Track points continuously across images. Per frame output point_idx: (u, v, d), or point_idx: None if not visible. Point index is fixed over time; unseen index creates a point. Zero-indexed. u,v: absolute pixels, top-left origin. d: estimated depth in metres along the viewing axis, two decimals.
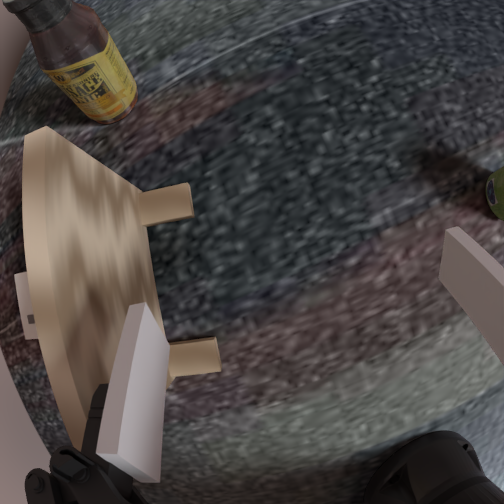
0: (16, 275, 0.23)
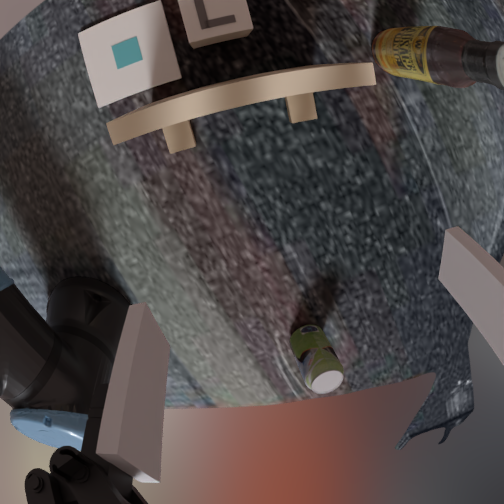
0: None
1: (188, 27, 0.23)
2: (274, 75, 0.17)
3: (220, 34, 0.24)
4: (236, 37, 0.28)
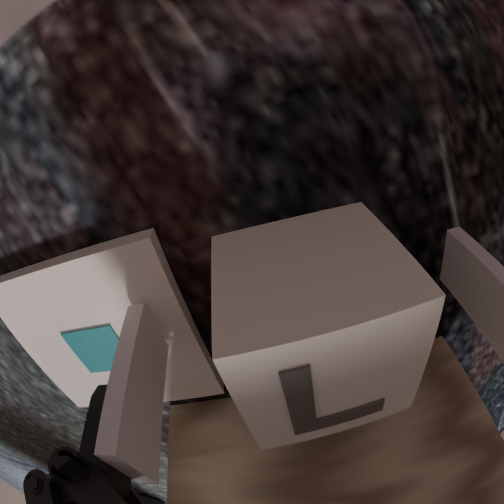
0: (439, 305, 0.07)
1: (260, 433, 0.09)
2: None
3: None
4: None
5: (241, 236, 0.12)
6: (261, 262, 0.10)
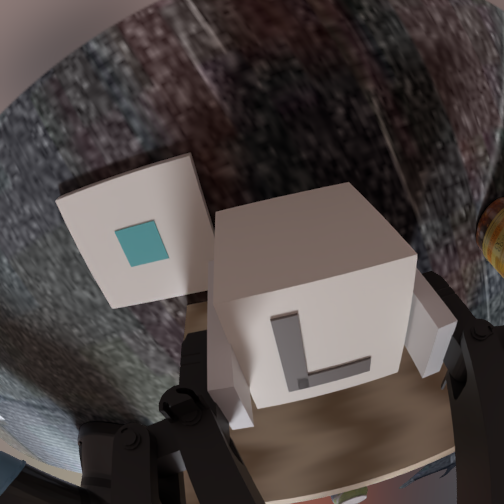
0: (412, 264, 0.08)
1: (256, 387, 0.11)
2: (394, 471, 0.11)
3: (328, 390, 0.12)
4: None
5: (241, 211, 0.13)
6: (257, 230, 0.11)
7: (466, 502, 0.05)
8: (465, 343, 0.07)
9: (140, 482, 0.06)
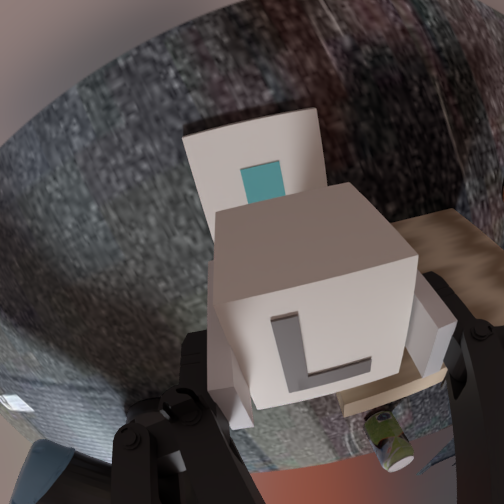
0: (413, 264, 0.08)
1: (256, 389, 0.11)
2: None
3: (328, 391, 0.12)
4: None
5: (241, 211, 0.13)
6: (257, 231, 0.11)
7: (466, 502, 0.05)
8: (465, 343, 0.07)
9: (140, 482, 0.06)
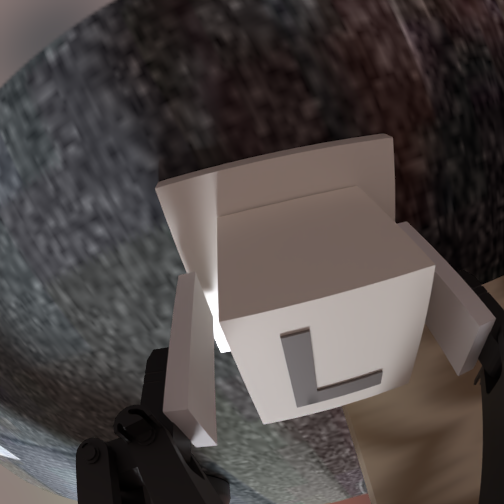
0: (430, 274, 0.08)
1: (262, 404, 0.10)
2: None
3: (337, 404, 0.11)
4: None
5: (245, 217, 0.12)
6: (263, 238, 0.11)
7: (489, 495, 0.04)
8: (502, 338, 0.07)
9: (103, 494, 0.06)
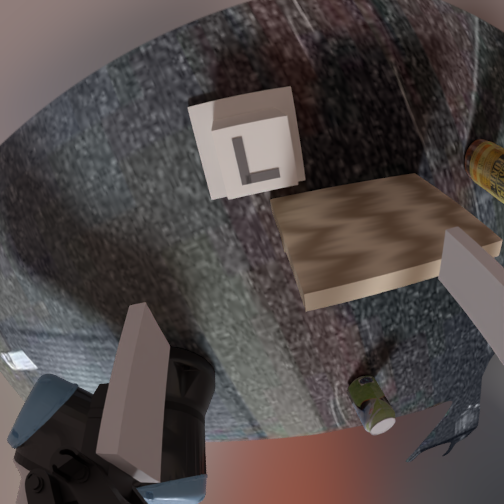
0: (285, 119, 0.23)
1: (227, 181, 0.25)
2: None
3: (262, 190, 0.26)
4: None
5: (224, 118, 0.28)
6: (230, 120, 0.26)
7: None
8: None
9: None
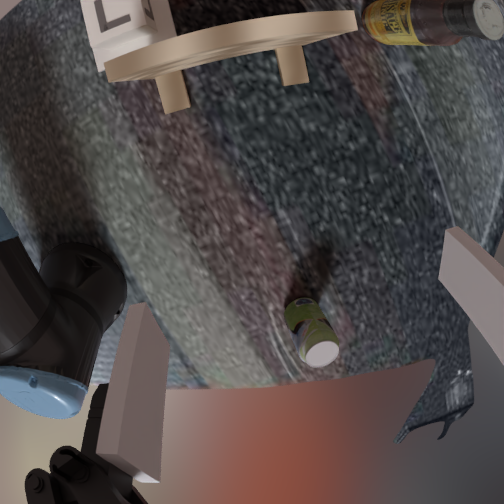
0: None
1: (90, 32, 0.22)
2: (260, 18, 0.17)
3: (117, 34, 0.23)
4: (145, 34, 0.27)
5: None
6: None
7: None
8: None
9: None
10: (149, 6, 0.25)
